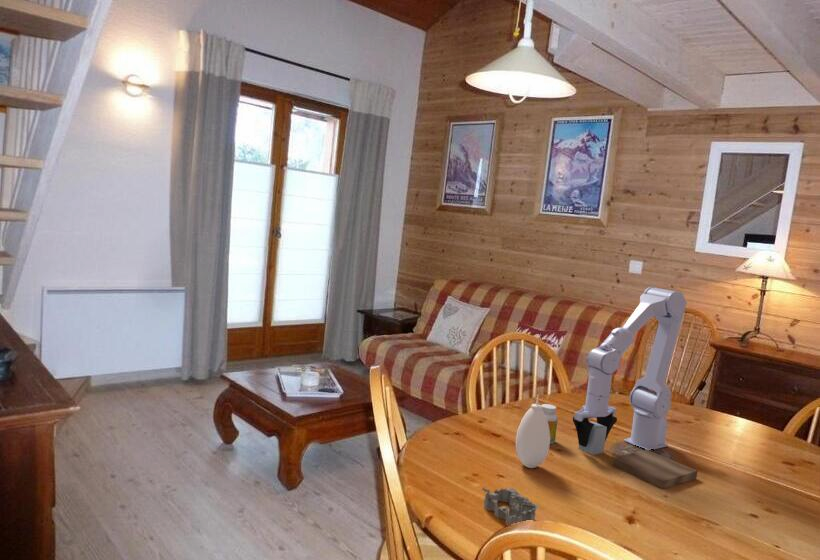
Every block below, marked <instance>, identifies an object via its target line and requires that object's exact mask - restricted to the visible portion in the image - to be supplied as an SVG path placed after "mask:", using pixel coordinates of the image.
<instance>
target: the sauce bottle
mask: <svg viewBox="0 0 820 560" xmlns="http://www.w3.org/2000/svg"><path fill="white" fill-rule="evenodd" d="M539 399H540V398H539V394H537V396H536V401H535V403H532V404H531V405H530V408H529V409H528V410H527V411H526V412H525V414H524V415H523V417H522V418H521V421H520V423H519V426H518V427H517V432H516V437H515V449H516V454H517V457H518V459H519V461H520V463H521V462H522V464H523V466H525V467H527V468H529V469H534V468H537V467H538V466H539V465H542V464H543V463H544V462H545V459H546V458H547V456H548V453H549V449H550V445H551V444H550V430H549V425H548V421H547V418H546V416H545V414H544V412H543V410H542V406H541V405H542V404H539Z"/></svg>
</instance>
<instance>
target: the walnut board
mask: <svg viewBox="0 0 820 560" xmlns="http://www.w3.org/2000/svg"><path fill="white" fill-rule="evenodd" d="M612 467H615V468H617V469H619V470H621V471H623V472H625V473H628V474H629V475H632V476H634V477H636V478H638V479H640V480H642V481H644V482H647V483H648V484H651V485H653V486H655V487H657V488H660V489H662V490H665V489H668V488H671V487H675V486H677V485H678V486H679V485H681V484H684V483H688V482H690V481H693V480H696V479H697V476H698V475H697V474H698V470H696V469H694V468H691V467H689V466H686V465H684V464H681V463H679V462H677V461H675V460H672V459H670V458H668V457H666V456H664V455H661V454H658V453H656V452H653V451H652V450H650V451H649V450H644V449H642V450H638V451H635V452H631V453H627V454H623V455H620V456H615V457H613V458H612Z"/></svg>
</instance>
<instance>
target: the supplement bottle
mask: <svg viewBox="0 0 820 560" xmlns="http://www.w3.org/2000/svg"><path fill="white" fill-rule="evenodd" d="M540 405H541V406H542V410H543V412H544V414H545V416H546V418H547V421H548V425H549V430H550V445H553V444H555V442H556V436H557V428H558V418H559V417H558V415H557V414H556V413H557V406H555V405H553V404H549V403H548V404H547V403H543V404H540Z"/></svg>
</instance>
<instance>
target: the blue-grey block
mask: <svg viewBox="0 0 820 560" xmlns="http://www.w3.org/2000/svg"><path fill="white" fill-rule="evenodd" d="M590 422H591V423H593V424H594V426H593V428H592V430H591V432H590V435H589V440H588V444H587V446H586V447H583V446H581V445H579V444H578V449H579V450H580V451H583V452H585V453H587V454H588V455H591V456H594V455H598V454H604V452H605V446H606V441H605V438H606V431H607V427H606V426H603V425H601V424H598V423H597V421H596V422H595V421H593V420H592V421H590Z"/></svg>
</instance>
